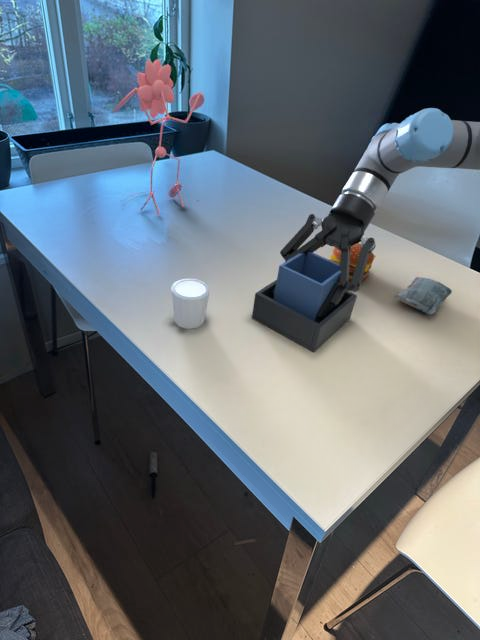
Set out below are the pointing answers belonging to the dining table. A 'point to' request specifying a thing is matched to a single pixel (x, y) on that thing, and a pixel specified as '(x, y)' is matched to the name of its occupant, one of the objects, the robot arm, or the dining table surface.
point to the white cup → (190, 302)
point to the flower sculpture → (159, 108)
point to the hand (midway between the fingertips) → (296, 306)
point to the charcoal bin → (300, 318)
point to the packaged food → (424, 294)
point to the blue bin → (306, 283)
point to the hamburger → (353, 260)
